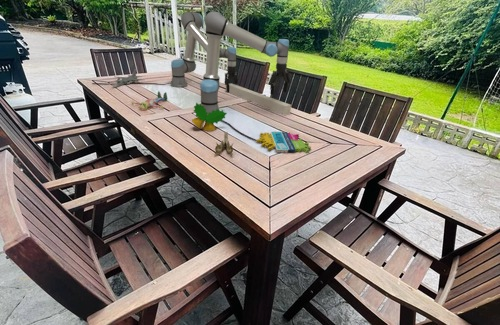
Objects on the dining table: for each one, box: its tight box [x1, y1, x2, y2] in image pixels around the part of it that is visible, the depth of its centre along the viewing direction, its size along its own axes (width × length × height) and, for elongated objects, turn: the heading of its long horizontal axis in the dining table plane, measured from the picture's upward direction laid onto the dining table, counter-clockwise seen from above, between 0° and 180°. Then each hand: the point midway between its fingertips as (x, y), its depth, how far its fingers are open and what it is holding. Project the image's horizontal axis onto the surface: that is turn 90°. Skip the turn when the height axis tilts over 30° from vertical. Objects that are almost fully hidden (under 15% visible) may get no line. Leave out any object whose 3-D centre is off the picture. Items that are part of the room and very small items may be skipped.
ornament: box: [191, 102, 228, 132], centre depth 162 cm, size 21×8×15 cm, turn 105°
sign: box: [255, 131, 312, 154], centre depth 152 cm, size 26×2×30 cm
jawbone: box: [214, 131, 234, 156], centre depth 136 cm, size 9×15×10 cm
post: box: [225, 82, 292, 116], centre depth 222 cm, size 77×6×7 cm, turn 39°
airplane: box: [110, 68, 145, 89], centre depth 248 cm, size 38×31×10 cm
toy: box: [130, 91, 168, 111], centre depth 196 cm, size 28×7×30 cm
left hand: (230, 91), depth 246 cm, fingers closed on post, 6 cm apart
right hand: (278, 93), depth 196 cm, fingers open, 13 cm apart
